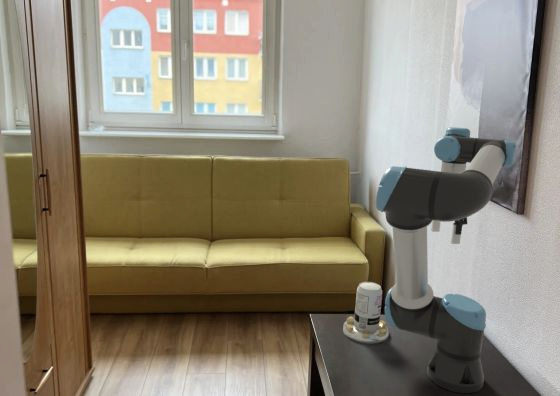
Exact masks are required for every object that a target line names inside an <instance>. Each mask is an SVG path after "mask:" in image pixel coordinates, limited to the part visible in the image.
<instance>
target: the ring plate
mask: <svg viewBox="0 0 560 396" xmlns="http://www.w3.org/2000/svg"><path fill="white" fill-rule="evenodd" d="M354 318H355V316H351V315H350V316H348V317H347V318H346V321H344V323H343V326H342V327H343V328H342V332H343V334H344V335H345V336H346V337H347V338H348V339H350V340H352V341H354V342H356V343H361V344H367V345H373V344H374V345H376V344H381V343H383V342H386V341H387V340H388V338H389V333H390V331H389V330H390V329H389V328H388V327H387V323H386V321H384V320H383V319H382V320H381V319H380V322H379V329H378V330H377V331H376V332H373V333H370V332H363V331H362V332H361V331H359V330H357V329H356V327H355V326H354Z"/></svg>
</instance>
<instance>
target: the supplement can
mask: <svg viewBox="0 0 560 396" xmlns="http://www.w3.org/2000/svg"><path fill="white" fill-rule="evenodd" d="M355 296H356V297H355V307H354V308H355V309H354V326H355V327H356V329H357V330H359V331H361V332H362V331H363V332H370V333H373V332H376V331H377V330H378V329H379V322H380V320H381V309H382V302H383V301H382V300H383V290H382V287H381V285H380V284H378V283H376V282H372V281H362V282H359V284H358V286H357V289H356V295H355Z"/></svg>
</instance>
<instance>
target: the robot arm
mask: <svg viewBox="0 0 560 396" xmlns="http://www.w3.org/2000/svg"><path fill="white" fill-rule="evenodd" d="M433 152H434V155H435V157H436V158H437V159H438V160H440V161H441V168H440V170H439V171H437V170H431V169H422V168H421V169H420V168H413V167H407V166H395V165H394V166H390V167H388V168H387V169H386V170H385V172H384V173H383V175H382V176H381V179H380V181H379V184H378V187H377V192H376V196H375V208H376V209H377V210H378V211H379V212H380V213H384V212H385V220H386V223H387V224H388V225H389V226H390V227H392V237H393V238H392V241H393V254H394V255H393V256H394V257H393V259H394V271H395V272H394V273H395V283H394V285H393V286H391V288H389V290H388V291H387V294H386V297H385V299H384V301H385V302H384V304H385V306H384V317H385V319H386V322H387V323H388V325H390V326H391V327H394V328H397V329H398V330H400V331H405V332H408V333H413V334H417V335H419V336H423V337H427V338H430V339H434V340H437V342H436V347H435V350H434V352H433V354H432V355H431V357H430V359H429V361H428V363H427V369H426V374H427V376H428V378H429V379H430V381H432V382H433V383H434V384H436V386H438V387H440V388H442V389H445V390H447V391H450V392H454V393H458V394H473V393H476V392H479V391H481V389H483V387H484V381H485V375H484V371H483V366H482V361H481V354H482V353H481V352H482V349H483V348H482V347H483V341H484V340H483V339H484V332H485V329H486V327H487V324H486V321H487V319H486V318H487V312H486V310H485V308H484V306H483V305H482V304H480V302H478V301H476V300H475V299H473V298H470V297H468V296H465V295H463V294H460V293H459V294H458V293H455V294H454V293H447V294H445V295H443V297H439V296H435V295H434V290H433V288H432V286H431V285H430V284H429V283H428V281H429V280H428V276H429V275H428V273H429V272H428V269H429V268H428V266H429V265H428V227H429V226H430V225H431V227H430V228H431V229H430V230H431V232H432V233H435V232H436V233H437V232H440V230H441V228H440V227H441V222H444V223H446V222H453V223H452V231H451V238H450V239H451V240H450V244H451V245H459V244H461V238H462V237H461V235H462V231H463V226H464V225H468V218H469V217H470V216H471V217H472V216H473V215H475V214H476V213H478V212H480V211H482V209H484V208H485V207H486V206H487V204H488V203H489V202H490V200H491V198H492V197H493V193H494V186H493V184H494V182H495V181H496V179H497V177H498V175H499V173H500V171H501V169H502V168H507V167H508V168H509V167H510V168H511V167H513V166H514V163H515V160H516V156H517V155H516V154H517V143H516V142H515V141H511V140H506V139H495V138H494V139H493V138H492V139H491V138H481V137H480V138H479V137H472V136H471V130H470V129H469V128H467V127H465V128H464V127H453V126H452V127H447V128H446V131H445V135H444V136H442V137H441V138H439V139H438V140H437V141H436V142H435V144H434V147H433ZM467 164H468V165H467Z"/></svg>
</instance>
